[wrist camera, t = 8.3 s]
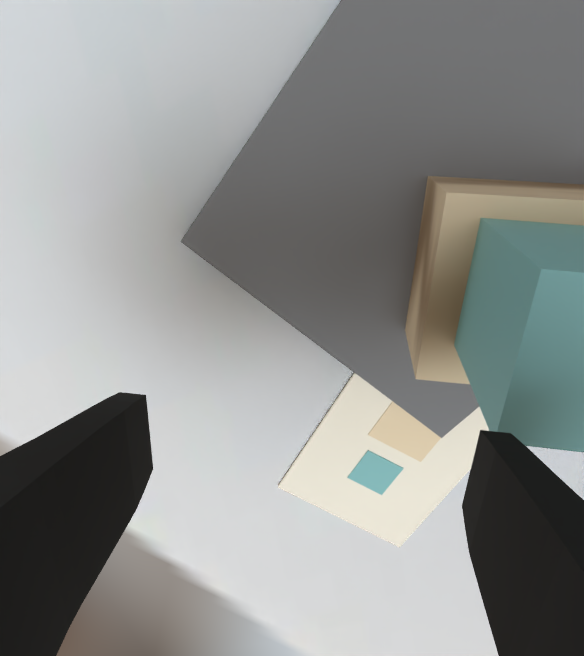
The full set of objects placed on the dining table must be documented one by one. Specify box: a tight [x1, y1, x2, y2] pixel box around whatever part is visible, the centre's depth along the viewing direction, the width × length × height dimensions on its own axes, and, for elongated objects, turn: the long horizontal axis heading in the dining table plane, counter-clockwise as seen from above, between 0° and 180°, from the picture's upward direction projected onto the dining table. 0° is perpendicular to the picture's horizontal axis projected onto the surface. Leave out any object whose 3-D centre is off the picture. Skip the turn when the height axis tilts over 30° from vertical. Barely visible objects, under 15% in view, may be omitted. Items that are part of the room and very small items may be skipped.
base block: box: [405, 176, 584, 384], centre depth 16 cm, size 6×6×4 cm
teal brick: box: [454, 218, 584, 452], centre depth 12 cm, size 4×4×5 cm
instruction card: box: [278, 373, 489, 547], centre depth 22 cm, size 10×7×1 cm
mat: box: [181, 0, 584, 438], centre depth 17 cm, size 20×14×1 cm
